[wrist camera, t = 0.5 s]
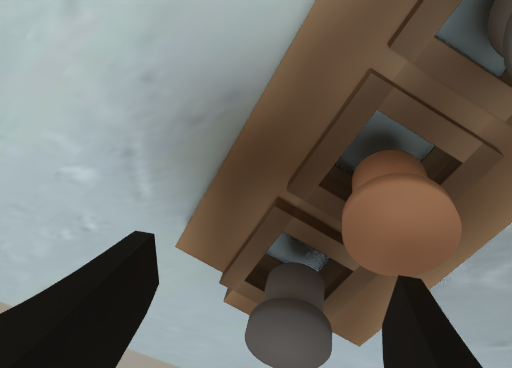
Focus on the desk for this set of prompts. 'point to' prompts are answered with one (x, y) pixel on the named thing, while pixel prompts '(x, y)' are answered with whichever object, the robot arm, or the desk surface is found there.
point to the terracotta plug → (398, 217)
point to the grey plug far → (291, 320)
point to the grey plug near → (501, 30)
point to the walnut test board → (337, 141)
